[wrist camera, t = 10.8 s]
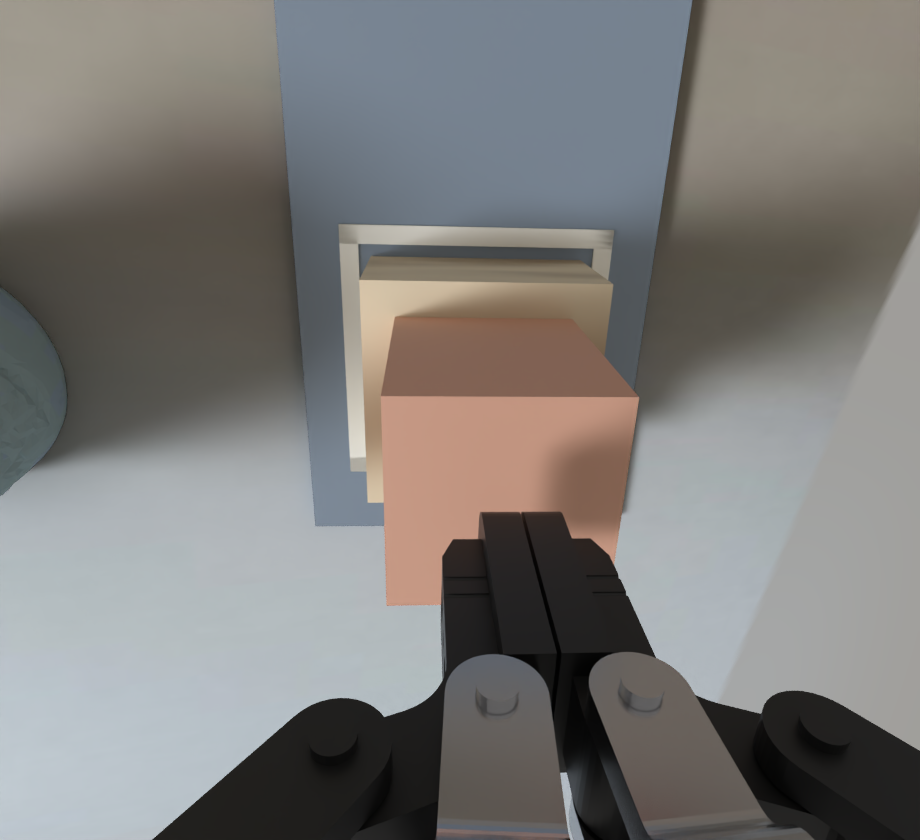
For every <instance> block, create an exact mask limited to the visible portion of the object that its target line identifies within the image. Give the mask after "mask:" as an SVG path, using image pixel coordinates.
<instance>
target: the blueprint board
mask: <svg viewBox="0 0 920 840" xmlns="http://www.w3.org/2000/svg"><path fill="white" fill-rule="evenodd" d="M274 6H275V19H276V32H277V44H278V57H279V70H280V82H281V95H282V108H283V121H284V133H285V146H286V159H287V171H288V184H289V197H290V209H291V222H292V235H293V248H294V260H295V273H296V286H297V298H298V311H299V324H300V337H301V349H302V362H303V375H304V387H305V400H306V413H307V425H308V438H309V451H310V464H311V476H312V489H313V502H314V514H315V526H384V503H368V499H367V472H366V446H365V420H364V394H363V367H362V341H361V315H360V288H359V279H360V277H361V275H362V273H363V271H364V269H365V267H366V265H367V263H368V261H369V259H370V257H371V256H388V257H441V258H493V259H545V260H581V261H582V262H584V263H585V264H586V265H588V266H589V267H590V268H592V269H593V270H595V271H596V272H597V273H599V274H600V275H601V276H603V277H604V278H606V279H607V280H608V281H610V282H611V283H612V284H613V292H612V300H611V308H610V316H609V324H608V331H607V339H606V347H605V355H604V357H605V358H606V359H607V360H608V361H609V362H610V364H611V365H612V366H613V367H614V368H615V369H616V371H617V372H618V373H619V374H620V375H621V376H622V378H623V379H624V380H625V381H626V382H627V384H628V385H629V386H630V387H631V388H632V389H633V391H634V387H635V380H636V373H637V367H638V360H639V353H640V347H641V340H642V333H643V327H644V320H645V313H646V307H647V300H648V293H649V287H650V280H651V273H652V267H653V260H654V253H655V247H656V240H657V233H658V226H659V220H660V213H661V206H662V200H663V193H664V186H665V180H666V173H667V166H668V160H669V153H670V146H671V140H672V133H673V126H674V120H675V113H676V106H677V99H678V93H679V86H680V79H681V73H682V66H683V59H684V53H685V46H686V39H687V33H688V26H689V19H690V13H691V6H692V0H274Z"/></svg>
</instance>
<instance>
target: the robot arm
mask: <svg viewBox="0 0 920 840" xmlns="http://www.w3.org/2000/svg"><path fill="white" fill-rule="evenodd" d="M441 645H442V676H443V681H442V683H441V684H440V686H439V687H438V689H437V690H436V691H435V692H434V693H433V694H432V695H431V696H430V697H429V698H428V699H426V700H425V701H424V702H422V703H421V704H419V705H417V706H415V707H413V708H411V709H408V710H405V711H402V712H399V713H396V714H393V715H390V716H387V717H384V716H383V715H382V714H381V713H380V712H379V711H378V710H377V709H375V708H374V707H373V706H371V705H369V704H367V703H365V702H362V701H359V700H355V699H349V698H337V699H329V700H325V701H321V702H318V703H316V704H313V705H311V706H309V707H307V708H306V709H304V710H302V711H301V712H300V713H298V714H297V715H296V716H294V717H293V718H292V719H291V720H290V721H289V722H287V723H286V724H285V725H284V726H283V727H282V728H280V729H279V730H278V731H277V732H276V733H275V734H274V735H272V736H271V737H270V738H269V739H268V740H267V741H265V742H264V743H263V744H262V745H261V746H260V747H259V748H257V749H256V750H255V751H254V752H253V753H252V754H251V755H249V756H248V757H247V758H246V759H245V760H244V761H242V762H241V763H240V764H239V765H238V766H237V767H236V768H234V769H233V770H232V771H231V772H230V773H229V774H227V775H226V776H225V777H224V778H223V779H222V780H221V781H219V782H218V783H217V784H216V785H215V786H214V787H212V788H211V789H210V790H209V791H208V792H207V793H206V794H204V795H203V796H202V797H201V798H200V799H199V800H197V801H196V802H195V803H194V804H193V805H192V806H191V807H189V808H188V809H187V810H186V811H185V812H184V813H182V814H181V815H180V816H179V817H178V818H177V819H176V820H174V821H173V822H172V823H171V824H170V825H169V826H167V827H166V828H165V829H164V830H163V831H162V832H161V833H159V834H158V835H157V836H156V837H155V838H154V839H152V840H570V838H569V834H568V828H567V821H566V814H565V807H564V799H563V792H562V784H561V777H560V773H562V772H567V775H568V779H569V783H570V788H571V792H572V796H571V803H570V810H569V825H570V830H571V834H572V837H573V840H920V751H919V750H917V749H916V748H914V747H912V746H910V745H909V744H907V743H905V742H904V741H902V740H900V739H899V738H897V737H895V736H893V735H892V734H890V733H888V732H887V731H885V730H883V729H881V728H880V727H878V726H876V725H875V724H873V723H871V722H869V721H868V720H866V719H864V718H863V717H861V716H859V715H858V714H856V713H854V712H853V711H851V710H849V709H848V708H846V707H844V706H842V705H840V704H839V703H836V702H834V701H833V700H830V699H828V698H826V697H823V696H820V695H817V694H814V693H809V692H804V691H785V692H781V693H777V694H775V695H773V696H772V697H771V698H769V699H768V700H767V702H766V703H765V705H764V707H763V710H762V713H761V714H759V713H754V712H750V711H747V710H742V709H739V708H734V707H730V706H726V705H722V704H718V703H715V702H711V701H708V700H706V699H703V698H701V697H698V696H696V695H695V694H694V692H693V691H692V689H691V687H690V686H689V684H688V683H687V681H686V680H685V679H684V678H683V677H682V675H681V674H680V673H679V672H677V671H676V670H675V669H674V668H673V667H671V666H670V665H668V664H666V663H665V662H663V661H661V660H659V659H657V658H656V657H655V655H654V653H653V650H652V648H651V646H650V644H649V642H648V639H647V637H646V635H645V633H644V630H643V628H642V626H641V624H640V622H639V619H638V617H637V615H636V613H635V611H634V608H633V606H632V604H631V602H630V600H629V597H628V596H626V591H625V589H624V586H623V584H622V582H621V580H620V579H619V578H618V573H617V571H616V569H615V566H614V564H613V562H612V560H611V558H610V555H609V554H607V553H606V552H605V551H604V550H603V549H602V548H601V547H600V546H599V545H597V544H596V543H595V542H594V541H593V540H592V539H591V538H572V537H571V535H570V532H569V529H568V527H567V524H566V521H565V519H564V516H563V514H562V512H560V511H552V512H521V514H520V512H480V515H479V528H478V539H453V540H452V542H451V543H450V545H449V546H448V548H447V550H446V551H445V553H444V554H443V556H442V587H441Z"/></svg>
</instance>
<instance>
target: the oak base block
mask: <svg viewBox="0 0 920 840" xmlns="http://www.w3.org/2000/svg"><path fill="white" fill-rule="evenodd" d="M359 288H360V315H361V341H362V367H363V394H364V420H365V446H366V472H367V499H368V503H384V493H383V458H382V423H381V392H382V386H383V381H384V375H385V369H386V364H387V358H388V352H389V347H390V341H391V335H392V330H393V324H394V318H395V317H443V318H531V319H573V320H574V322H575V323H576V324H577V325H578V326H579V327H580V329H581V330H582V331H583V332H584V333H585V334H586V336H587V337H588V338H589V339H590V340H591V341H592V343H593V344H594V345H595V346H596V347H597V348H598V350H599V351H600V352H601V353H602V354H603V355H605V347H606V339H607V331H608V324H609V316H610V308H611V300H612V292H613V284H612V283H611V282H610V281H608V280H607V279H606V278H604V277H603V276H601V275H600V274H599V273H597V272H596V271H595V270H593V269H592V268H590V267H589V266H588V265H586V264H585V263H584V262H582V261H581V260H545V259H493V258H441V257H388V256H371V257H370V259H369V261H368V263H367V265H366V267H365V269H364V271H363V273H362V275H361V277H360V279H359Z"/></svg>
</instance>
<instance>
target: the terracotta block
mask: <svg viewBox="0 0 920 840" xmlns="http://www.w3.org/2000/svg"><path fill="white" fill-rule="evenodd" d="M638 403H639V396H638V395H637V394H636V393H635V392H634V391H633V389H632V388H631V387H630V386H629V385H628V384H627V382H626V381H625V380H624V379H623V378H622V376H621V375H620V374H619V373H618V372H617V371H616V369H615V368H614V367H613V366H612V365H611V364H610V362H609V361H608V360H607V359H606V358H605V357H604V355H603V354H602V353H601V352H600V351H599V350H598V348H597V347H596V346H595V345H594V344H593V343H592V341H591V340H590V339H589V338H588V337H587V336H586V334H585V333H584V332H583V331H582V330H581V329H580V327H579V326H578V325H577V324H576V323H575V322H574V320H573V319H531V318H443V317H395V318H394V324H393V330H392V335H391V341H390V347H389V352H388V358H387V364H386V369H385V375H384V381H383V386H382V392H381V423H382V458H383V493H384V529H385V564H386V599H387V606H394V605H441V587H442V556H443V554H444V553H445V551H446V550H447V548H448V546H449V545H450V543H451V542H452V540H453V539H478V528H479V515H480V512H520V514H521V512H552V511H560V512H562V514H563V516H564V519H565V521H566V524H567V527H568V529H569V532H570V535H571V537H572V538H591V539H592V540H593V541H594V542H595V543H596V544H597V545H599V546H600V547H601V548H602V549H603V550H604V551H605V552H606V553H607V554H609V555H610V558H611V560H612V562H613V564H614V561H615V554H616V548H617V541H618V534H619V528H620V521H621V515H622V508H623V501H624V495H625V488H626V482H627V475H628V469H629V462H630V455H631V449H632V442H633V436H634V429H635V422H636V416H637V409H638Z"/></svg>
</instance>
